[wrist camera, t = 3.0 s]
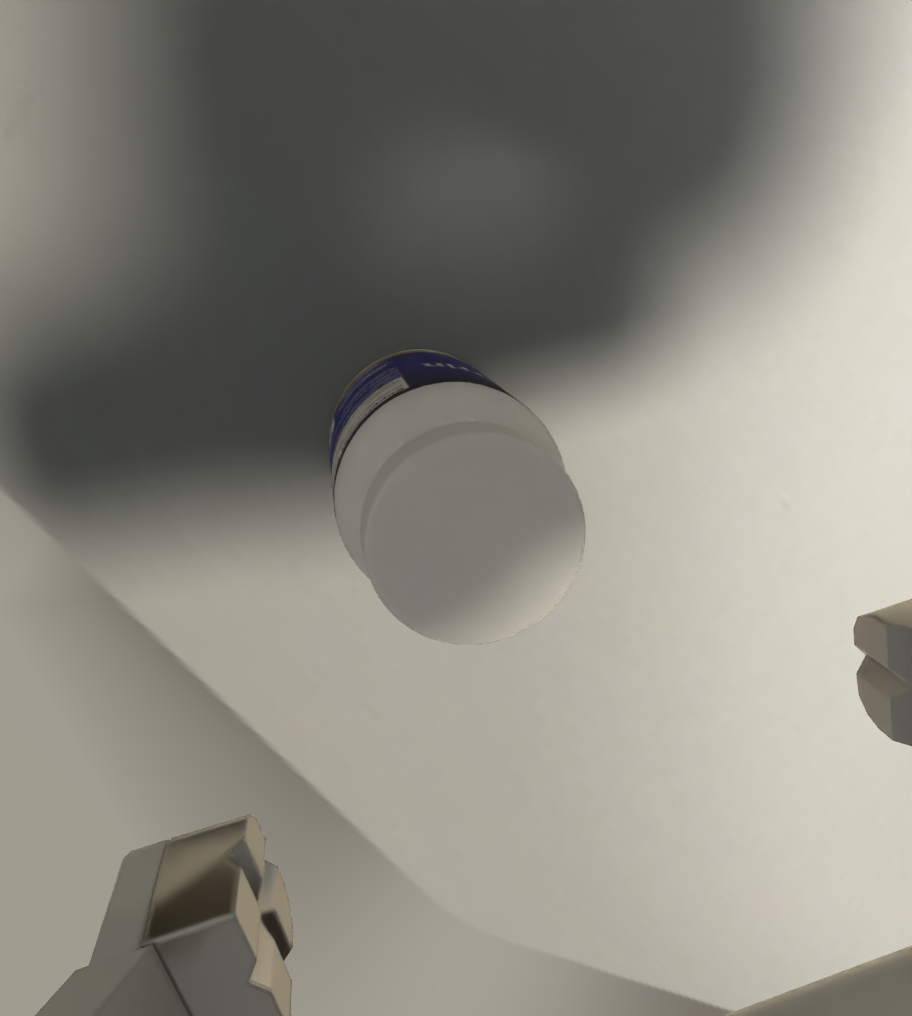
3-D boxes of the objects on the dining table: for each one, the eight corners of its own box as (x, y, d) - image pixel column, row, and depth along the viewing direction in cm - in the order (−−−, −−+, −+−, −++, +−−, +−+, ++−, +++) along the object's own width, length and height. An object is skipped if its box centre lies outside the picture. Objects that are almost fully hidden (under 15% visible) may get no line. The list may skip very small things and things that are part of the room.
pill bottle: (536, 417, 25) (665, 516, 16) (431, 548, 26) (496, 714, 17) (400, 307, 23) (458, 349, 14) (291, 452, 24) (279, 581, 15)
